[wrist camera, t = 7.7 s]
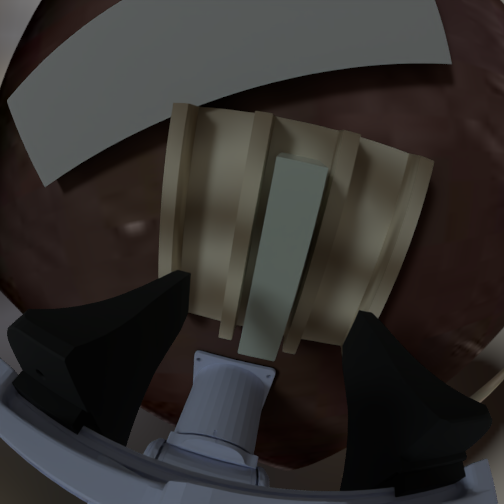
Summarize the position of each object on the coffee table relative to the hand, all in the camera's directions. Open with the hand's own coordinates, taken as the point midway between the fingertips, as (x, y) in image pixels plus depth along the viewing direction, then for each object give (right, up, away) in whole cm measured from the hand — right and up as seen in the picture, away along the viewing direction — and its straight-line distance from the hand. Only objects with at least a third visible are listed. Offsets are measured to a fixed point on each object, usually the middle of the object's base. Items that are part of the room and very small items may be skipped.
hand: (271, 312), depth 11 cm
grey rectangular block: (-5, +18, +4) cm, 19 cm away
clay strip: (+1, +3, +8) cm, 8 cm away
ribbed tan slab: (+1, +4, +9) cm, 9 cm away
